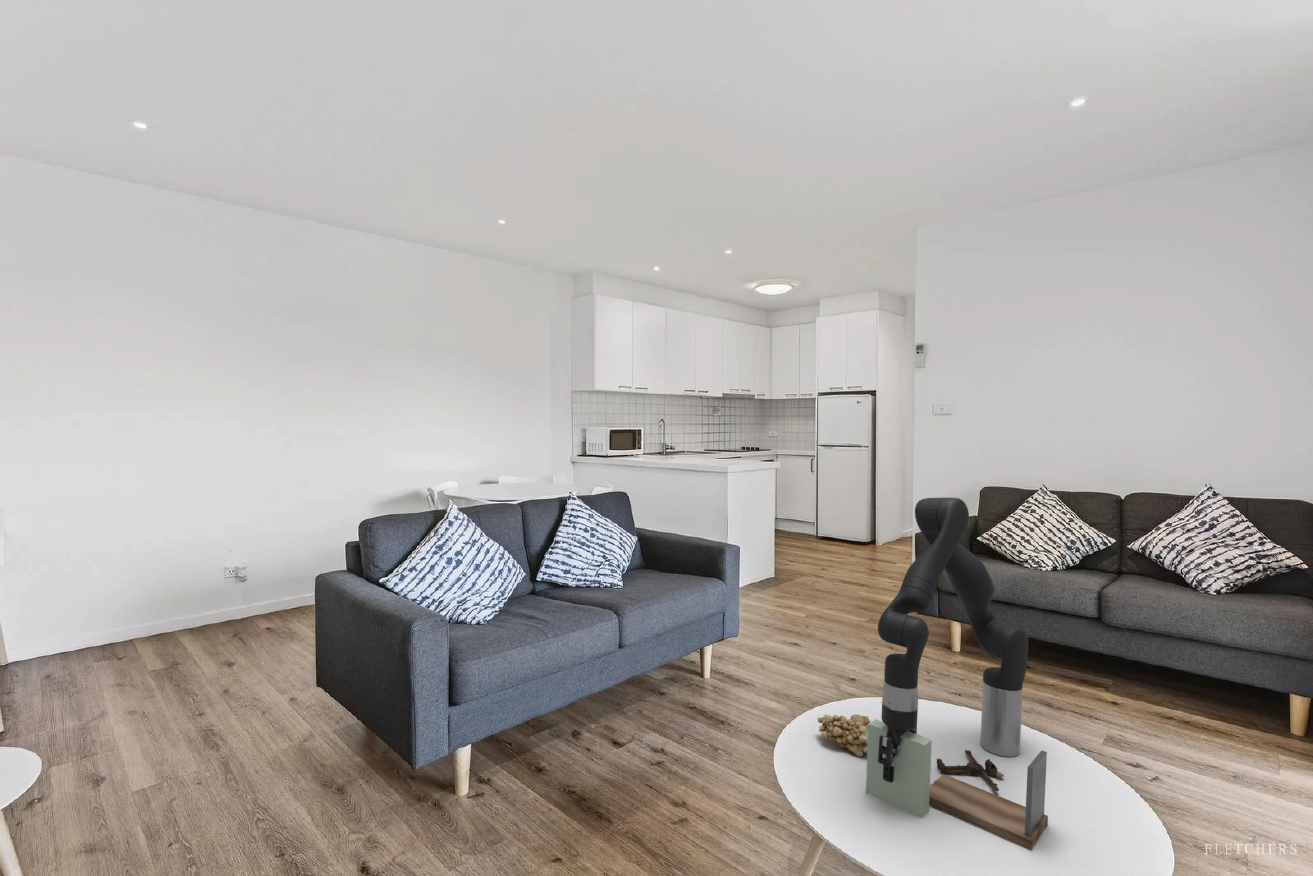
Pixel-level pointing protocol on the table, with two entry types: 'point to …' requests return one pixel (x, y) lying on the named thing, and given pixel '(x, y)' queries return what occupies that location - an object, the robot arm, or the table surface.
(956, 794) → the walnut shelf board
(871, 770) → the sage book
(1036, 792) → the grey metal bookend
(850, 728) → the mineral formation
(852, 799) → the table surface
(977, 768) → the wooden monkey figure
